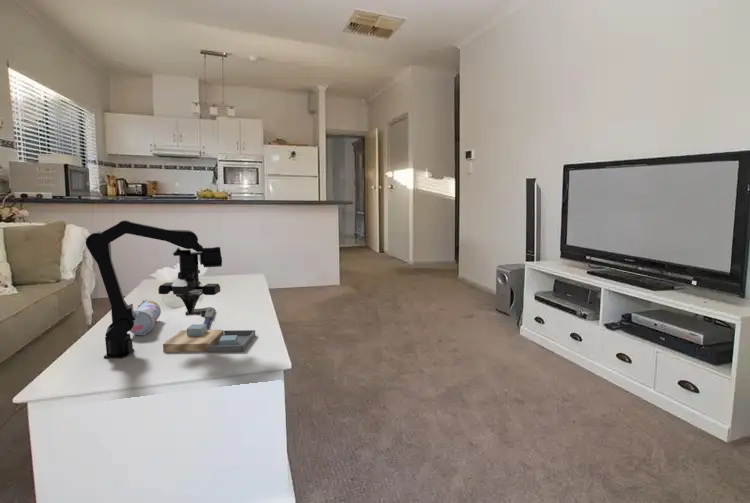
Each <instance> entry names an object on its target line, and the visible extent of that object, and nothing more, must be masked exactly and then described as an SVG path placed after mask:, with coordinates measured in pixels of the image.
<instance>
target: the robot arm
mask: <svg viewBox="0 0 750 503" xmlns="http://www.w3.org/2000/svg"><path fill="white" fill-rule="evenodd" d="M126 234H128V235H132V236H138V237H143V238H150V239H153V240H158V241H165V242H168V243H170V244H172V245H175V246H178V247H177V248H176V250H175V251H174V252H172V256H174V257H177V256H178V257H179V271H178V272H177V278H176V279H175V280H174V281H173V282H165V283H163V284H160V285H159V286H158V288H157V289H158V295H168V294H169V293H170V292H172V293H173V295H175V297H177V298H180V299H181V300H182V302H183V304H184V306H185V308H186V312H187V311H188V313H189V314H192V313H193V311H194V309H196V305H197V302H198V300H199V299H200V297H201V296H202V295H204V296H216V294H219V293H220V292H221V286H220V283H206V284H205V285H202V286H201V281H200V279H199V278H200V277H199V276H200V275H199V274H200V273H201V270H200V269H199V265H202V266H203V268H219V267H222V266H223V257H222V252H221V247H220V246H213V247H203V245H202V244H200V243H199V242H198V241H199V238H198V236H197V234H196V233H195V232H194V231H192V230H187V229H167V228H162V227H156V226H152V225H148V224H143V223H137V222H134V221H133V222H132V221H130V220H127V219H124V220H121V221H119V222H117V224H115V225H112V226H111V227H110V228H107V229H105V230H103V231H101V230H100V231H95V232H92V233H91V234H89V235H88V236H87V238H86V239H85V246H86V248H87V250H88V252H89V253H90V254H91V256H92V258H93V259H94V261H95V262H96V264H97V268H98V269H99V273H100V275H101V279H102V282H103V285H104V287H105V292H106V294H107V297H108V300H109V303H110V308H111V309H110V310H111V311H110V312H111V320H112V321H111V322H112V323H111V324H109V326H107V329H106V333H105V334H104V335H105V337H104V339H105V340H104V341H105V351H106V354H105V355H103V358H105V359H106V358H108V359H109V358H111V359H113V358H125V357H127V356H128V355H130V354H131V353H133V352H134V351H135V348H134V345H133V339H132V337H131V333H128V332H130V330H131V329H132V328H133V325H134V320H135V319H136V314H135V313H134V311H135V310H134V304H133V303H130V304H128V303H127V302H126V300H125V297H124V294H123V291H122V288H121V285H120V282H119V278H118V276H117V272H116V269H115V266H114V263H113V259H112V244H111V243H112V242H114V241H115V240H118V239H119V238H121V237H122V236H124V235H126ZM179 247H180V248H179ZM181 248H183V249H181ZM191 250H194V252H193V251H192V252H191Z"/></svg>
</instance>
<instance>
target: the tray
mask: <svg viewBox="0 0 750 503" xmlns="http://www.w3.org/2000/svg"><path fill="white" fill-rule="evenodd" d="M227 335H237V341H238V342H237V345H231V346H220V344H219V341H218V342H217V343H216V344H215V345H214V346H208V347H209V351H207V352H208V353H243V352H244V351H245V350H246V349H247V347H248V346H249V345H250V343H251V342H252V341H253V339H254V338H255V337H256V330H255V329H251V330H250V329H249V330H248V329H247V330H246V329H245V330H244V329H243V330H242V329H241V330H240V329H235V330H234V329H233V330H229V329H227V330H225V329H224V336H227Z"/></svg>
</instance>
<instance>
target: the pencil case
mask: <svg viewBox="0 0 750 503" xmlns="http://www.w3.org/2000/svg"><path fill="white" fill-rule="evenodd" d="M134 313H135V314H136V319H135V320H134V325H133V328H132V329H131V330H130V331H129V332H130V334H131V333H132V334H133V335H135V336H145V335H147V334H148V333H149V332H151V330H152V329H153V327H154V326H155V323H156V322H157V320H158V319H159V318H160V315H161V314H162V309H161V307H160V305H159V304H158V302H156V301H154V300H151V299H145V300H144V299H143V300H141V302H139V303H138V304H137V309H136V310H134Z"/></svg>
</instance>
